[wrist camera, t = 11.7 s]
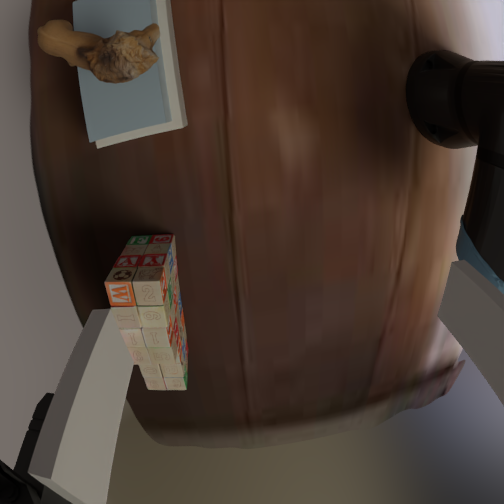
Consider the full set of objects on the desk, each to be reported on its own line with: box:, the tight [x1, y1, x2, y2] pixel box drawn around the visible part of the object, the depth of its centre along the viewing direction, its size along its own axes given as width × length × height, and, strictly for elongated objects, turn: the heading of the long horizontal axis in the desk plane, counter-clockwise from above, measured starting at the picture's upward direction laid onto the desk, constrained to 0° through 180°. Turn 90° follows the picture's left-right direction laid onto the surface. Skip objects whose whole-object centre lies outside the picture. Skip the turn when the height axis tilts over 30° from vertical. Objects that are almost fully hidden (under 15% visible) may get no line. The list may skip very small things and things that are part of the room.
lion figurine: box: [37, 20, 160, 84], centre depth 18 cm, size 15×5×9 cm, turn 68°
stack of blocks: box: [104, 234, 188, 390], centre depth 40 cm, size 21×6×12 cm, turn 179°
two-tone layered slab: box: [73, 0, 188, 149], centre depth 26 cm, size 10×18×9 cm, turn 7°
